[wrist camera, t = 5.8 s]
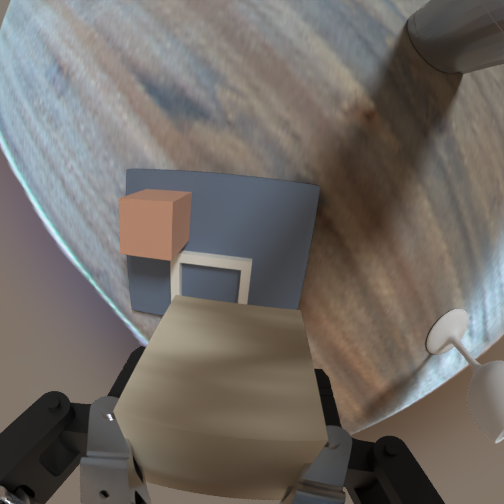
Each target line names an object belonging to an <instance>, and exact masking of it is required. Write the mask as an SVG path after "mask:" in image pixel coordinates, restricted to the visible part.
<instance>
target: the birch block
mask: <svg viewBox="0 0 504 504" xmlns="http://www.w3.org/2000/svg"><path fill="white" fill-rule="evenodd" d="M113 412H114V415H115V417H116V420H117V422H118V424H119V427H120V429H121V431H122V433H123V436H124V438H127V439H129V441H130V443H131V446H132V454H133V456H134V458H135V460H136V462H137V464H138V465H139V466H142V468H143V470H144V473H145V479H146V480H147V482H149V483H153V484H157V485H161V486H165V487H169V488H173V489H178V490H183V491H188V492H193V493H199V494H206V495H213V496H220V497H230V498H242V499H258V500H281V499H282V497H283V495H284V492H285V490H286V489H287V487H288V486H294V485H295V482H296V480H297V477H298V474H299V472H300V469H301V468H302V466H303V465H304V463H313V462H314V460H315V459H316V458H317V456H318V455H319V453H320V452H321V450H322V449H323V447H324V446H325V444H326V443H327V441H328V436H327V430H326V425H325V420H324V415H323V410H322V405H321V400H320V395H319V390H318V385H317V380H316V376H315V371H314V366H313V362H312V357H311V353H310V348H309V344H308V339H307V335H306V331H305V326H304V322H303V318H302V313H301V310H293V309H283V308H273V307H264V306H255V305H246V304H238V303H230V302H222V301H215V300H208V299H201V298H194V297H187V296H180V295H175V297H174V299H173V300H172V302H171V304H170V305H169V307H168V309H167V311H166V312H165V314H164V316H163V318H162V320H161V321H160V323H159V325H158V327H157V329H156V330H155V332H154V334H153V336H152V338H151V339H150V341H149V343H148V345H147V347H146V349H145V350H144V352H143V354H142V356H141V358H140V360H139V362H138V363H137V365H136V367H135V369H134V371H133V373H132V375H131V377H130V379H129V381H128V383H127V384H126V386H125V388H124V390H123V392H122V394H121V396H120V398H119V400H118V402H117V404H116V406H115V408H114V410H113Z"/></svg>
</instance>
